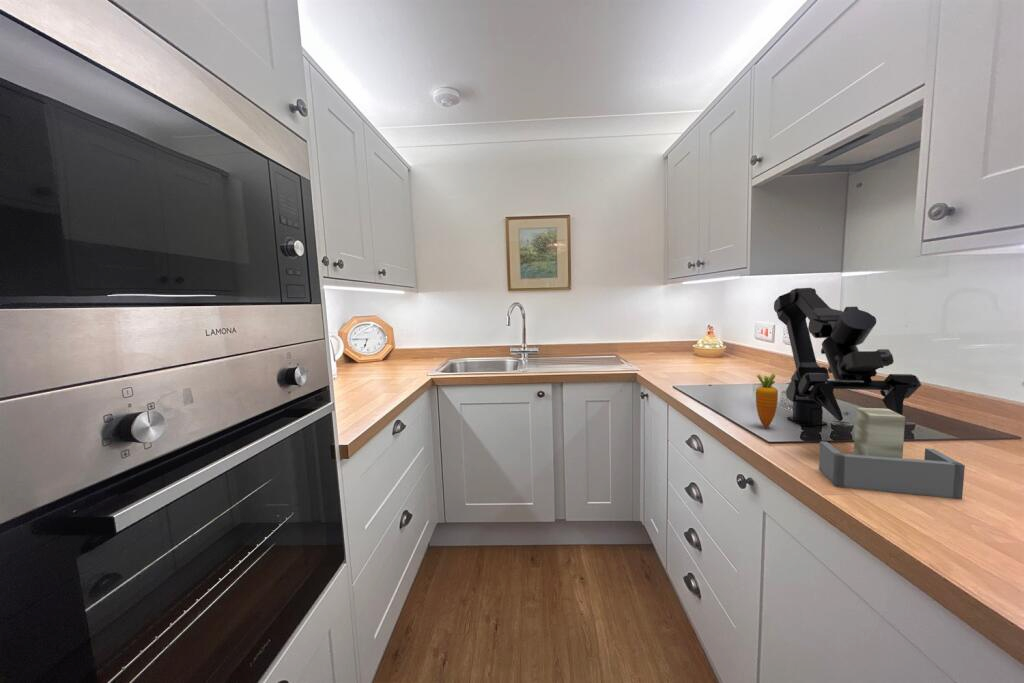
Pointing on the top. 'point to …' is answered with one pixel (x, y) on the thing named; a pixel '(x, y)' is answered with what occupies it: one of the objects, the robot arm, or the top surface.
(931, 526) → the top surface
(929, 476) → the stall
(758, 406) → the carrot
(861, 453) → the sage block
